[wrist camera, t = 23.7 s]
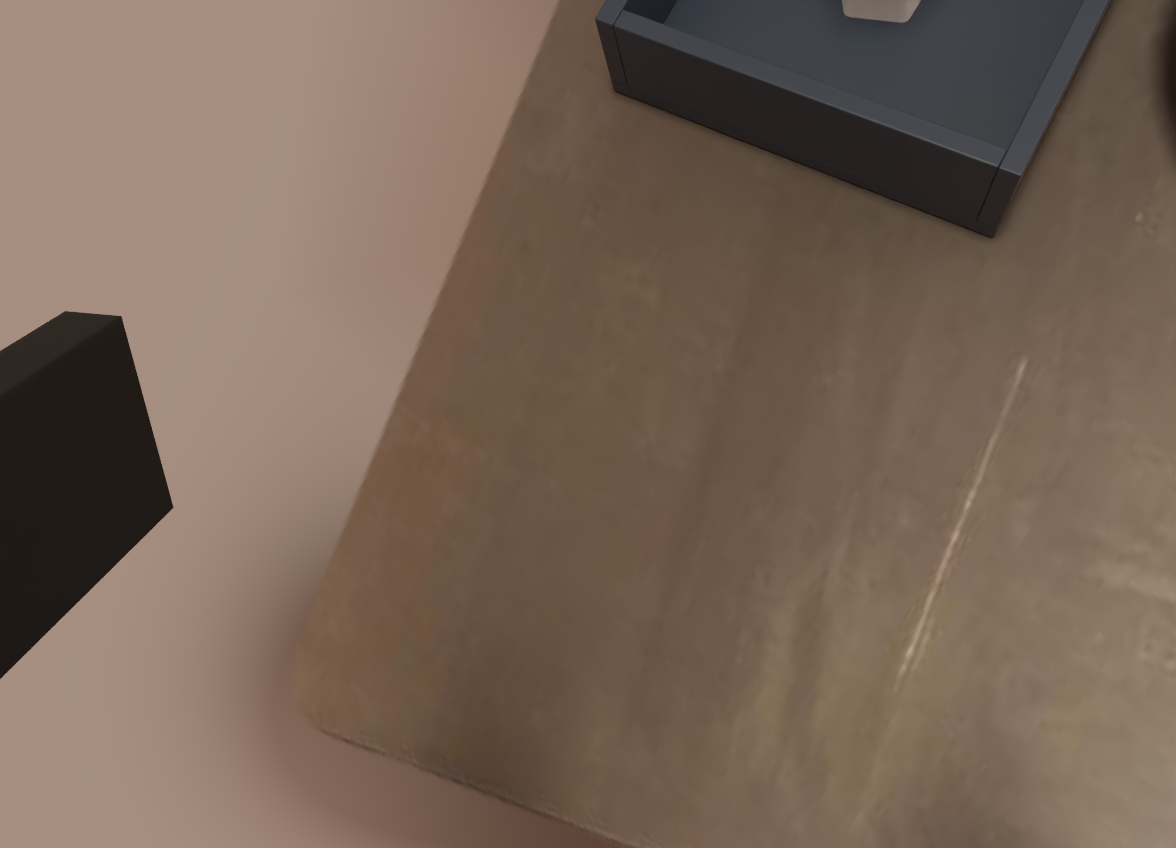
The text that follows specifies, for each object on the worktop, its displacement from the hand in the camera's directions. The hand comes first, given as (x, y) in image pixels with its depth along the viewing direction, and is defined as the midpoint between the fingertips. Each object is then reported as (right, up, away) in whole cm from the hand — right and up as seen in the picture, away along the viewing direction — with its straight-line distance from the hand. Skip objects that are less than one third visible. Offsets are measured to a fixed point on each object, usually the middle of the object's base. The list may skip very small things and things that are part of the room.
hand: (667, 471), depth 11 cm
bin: (+11, +18, +31) cm, 38 cm away
